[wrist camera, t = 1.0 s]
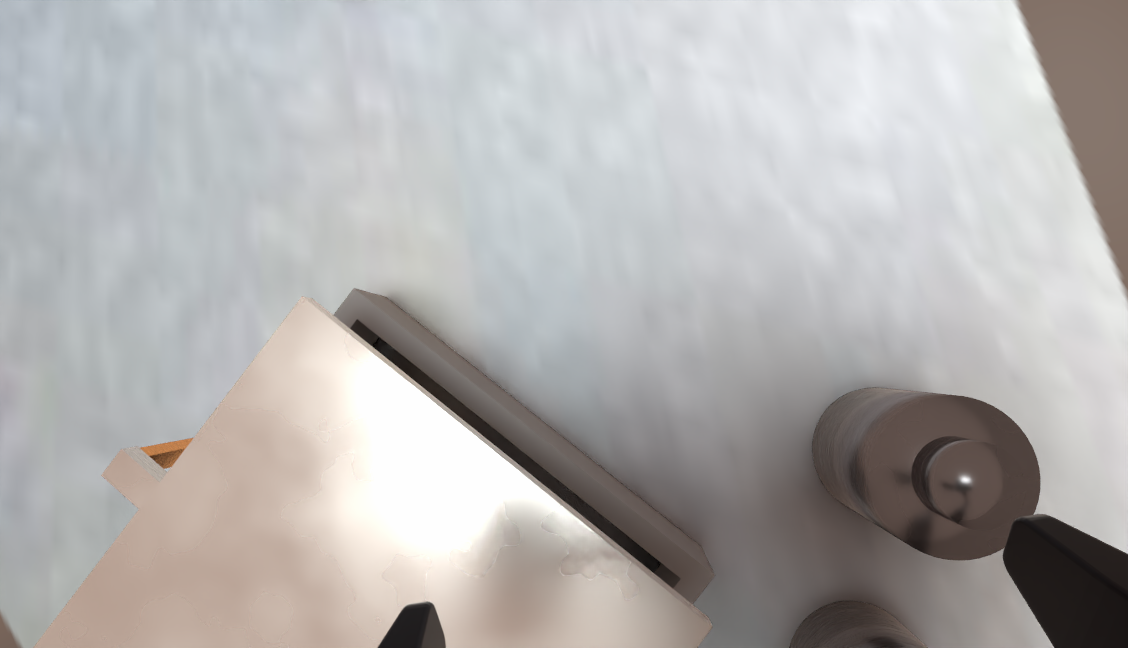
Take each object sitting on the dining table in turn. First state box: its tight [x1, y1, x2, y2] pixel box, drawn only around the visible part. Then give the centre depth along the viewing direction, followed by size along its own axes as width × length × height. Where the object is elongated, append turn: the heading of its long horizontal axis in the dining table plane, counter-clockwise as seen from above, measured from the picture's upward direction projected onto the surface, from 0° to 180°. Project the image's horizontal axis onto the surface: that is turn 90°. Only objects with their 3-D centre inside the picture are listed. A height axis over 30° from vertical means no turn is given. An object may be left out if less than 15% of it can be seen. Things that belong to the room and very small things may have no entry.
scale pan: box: [33, 296, 712, 648], centre depth 19 cm, size 17×15×4 cm
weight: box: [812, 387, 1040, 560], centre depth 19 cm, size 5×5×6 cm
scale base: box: [334, 288, 715, 605], centre depth 22 cm, size 16×16×3 cm
